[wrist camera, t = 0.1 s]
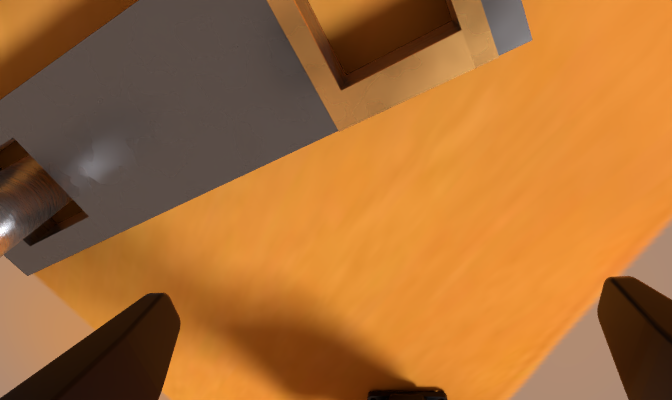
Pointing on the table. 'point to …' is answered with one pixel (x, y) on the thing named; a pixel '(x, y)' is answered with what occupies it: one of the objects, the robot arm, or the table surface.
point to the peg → (26, 200)
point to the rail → (211, 102)
